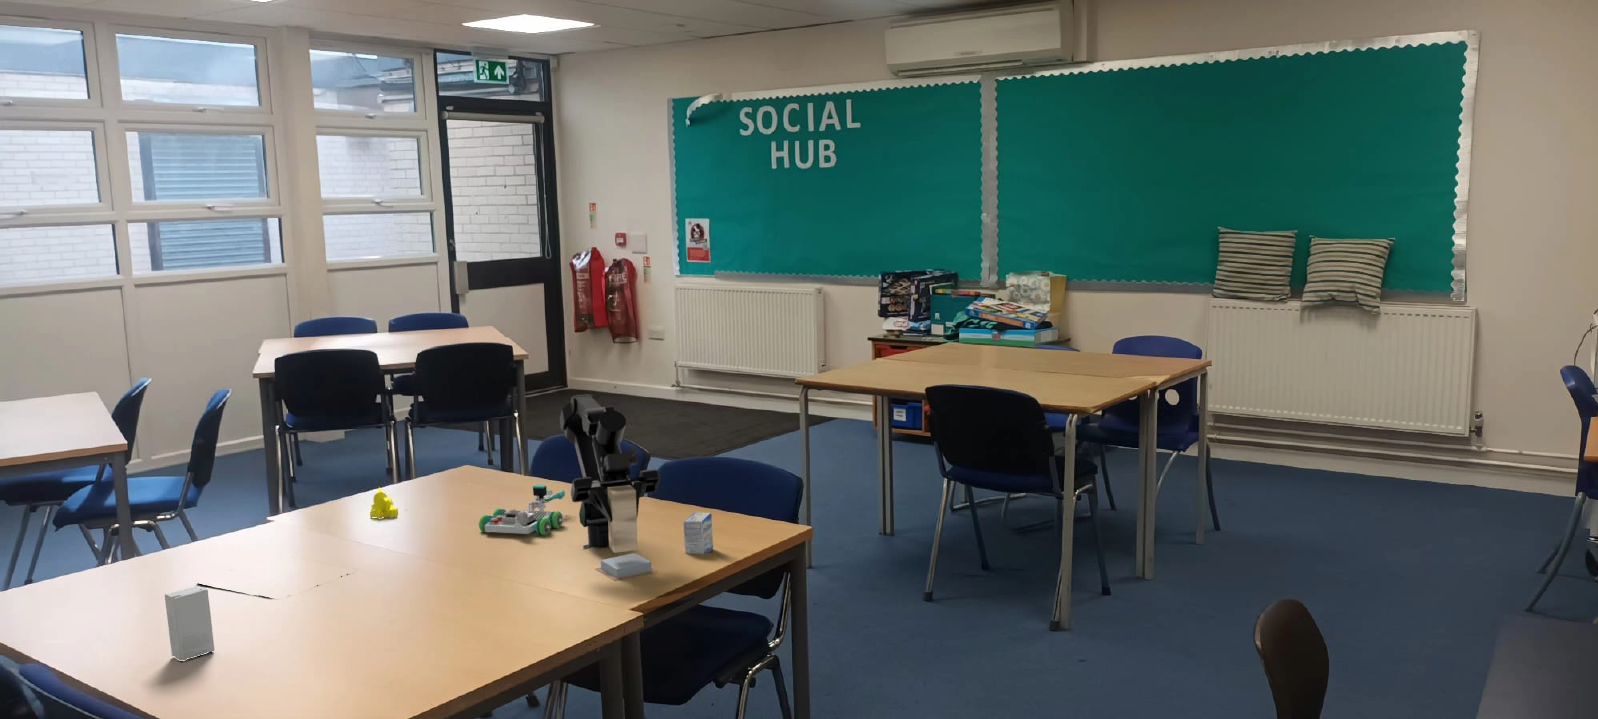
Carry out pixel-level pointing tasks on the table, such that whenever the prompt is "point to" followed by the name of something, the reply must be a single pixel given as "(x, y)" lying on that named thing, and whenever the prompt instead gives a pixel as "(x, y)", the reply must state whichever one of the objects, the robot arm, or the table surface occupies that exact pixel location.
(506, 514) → the robot kit
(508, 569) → the table surface
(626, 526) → the tall beech block
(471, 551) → the table surface
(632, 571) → the tower top slab
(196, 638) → the skincare box
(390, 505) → the yellow lumpy cone
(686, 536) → the medicine box
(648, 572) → the tower bottom slab
